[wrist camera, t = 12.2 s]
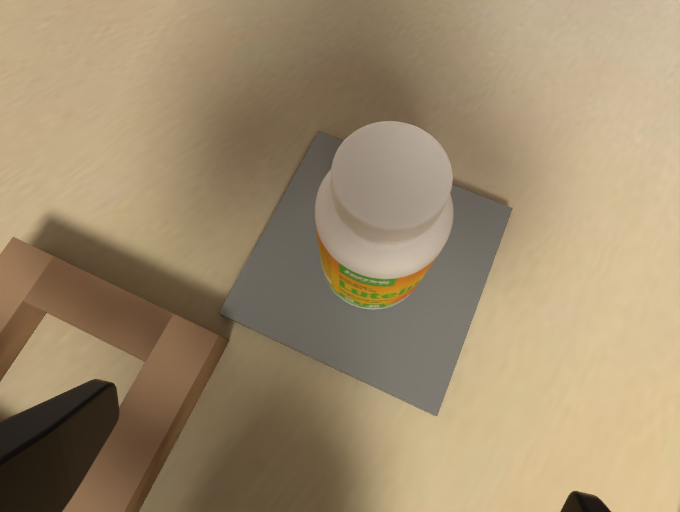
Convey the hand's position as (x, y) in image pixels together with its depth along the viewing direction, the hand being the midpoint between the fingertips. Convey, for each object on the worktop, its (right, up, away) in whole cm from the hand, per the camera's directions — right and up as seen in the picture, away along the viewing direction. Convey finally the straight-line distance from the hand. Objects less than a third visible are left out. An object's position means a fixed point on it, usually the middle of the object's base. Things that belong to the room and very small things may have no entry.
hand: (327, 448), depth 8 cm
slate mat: (+2, +3, +15) cm, 16 cm away
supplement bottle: (+2, +3, +15) cm, 16 cm away
